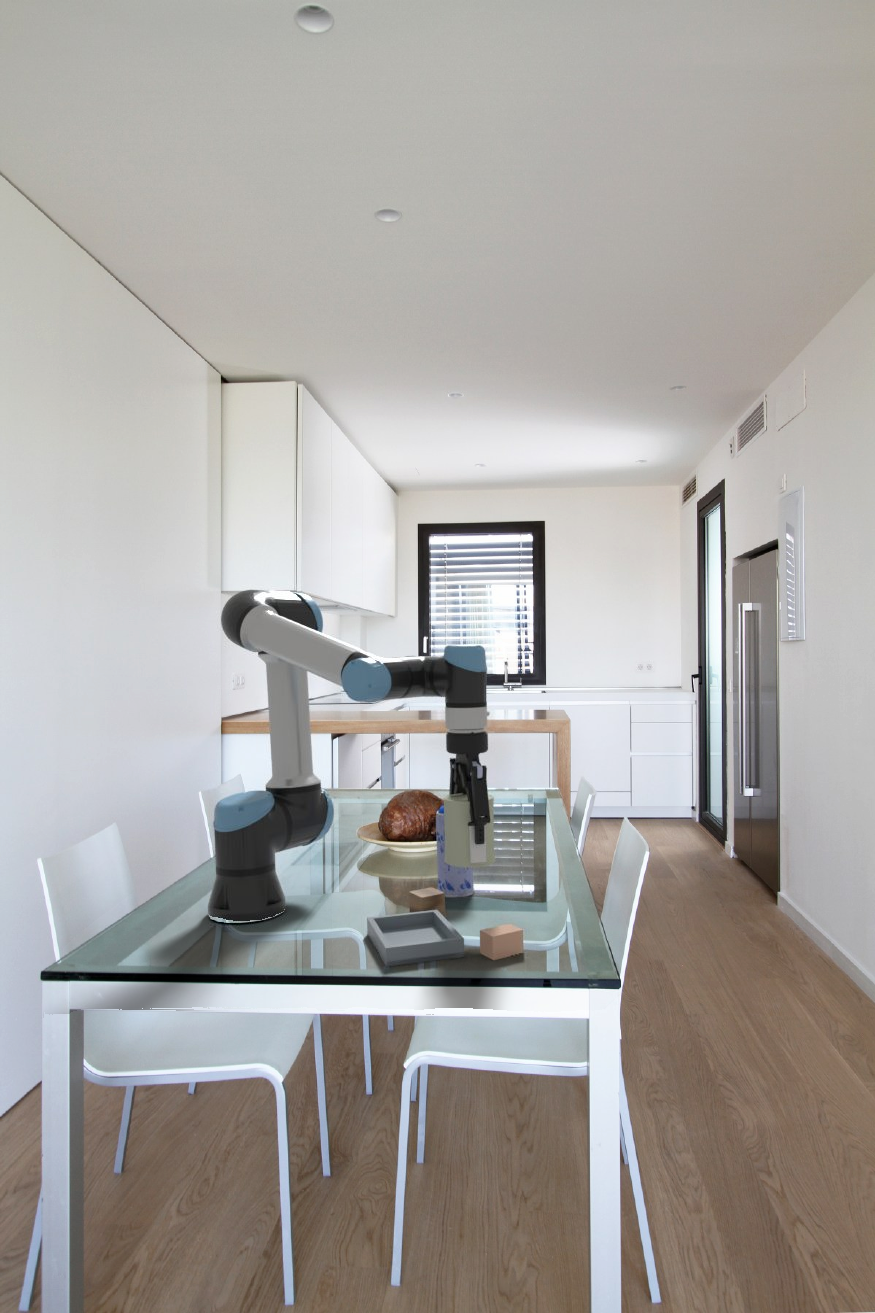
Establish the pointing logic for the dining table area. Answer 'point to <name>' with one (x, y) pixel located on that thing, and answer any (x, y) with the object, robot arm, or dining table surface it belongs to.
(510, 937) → the soap block
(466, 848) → the can
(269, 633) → the robot arm
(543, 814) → the dining table surface
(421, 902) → the walnut block
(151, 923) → the dining table surface
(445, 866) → the aerosol can
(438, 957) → the tray
